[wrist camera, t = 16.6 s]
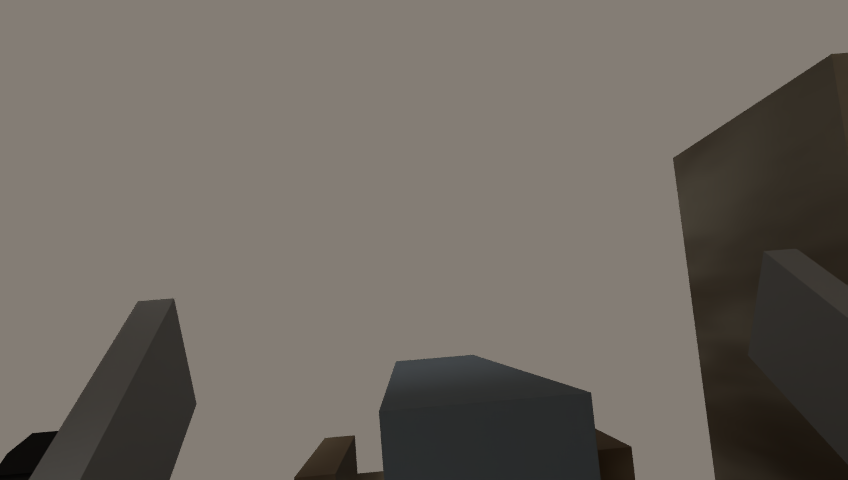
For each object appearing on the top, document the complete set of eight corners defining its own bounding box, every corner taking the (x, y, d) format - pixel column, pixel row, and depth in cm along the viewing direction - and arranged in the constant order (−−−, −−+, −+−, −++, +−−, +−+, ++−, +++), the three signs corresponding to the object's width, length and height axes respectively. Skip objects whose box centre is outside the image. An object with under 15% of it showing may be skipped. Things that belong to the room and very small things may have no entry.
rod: (396, 638, 13) (378, 411, 13) (402, 440, 37) (396, 361, 37) (615, 616, 13) (590, 392, 14) (479, 433, 37) (472, 354, 37)
